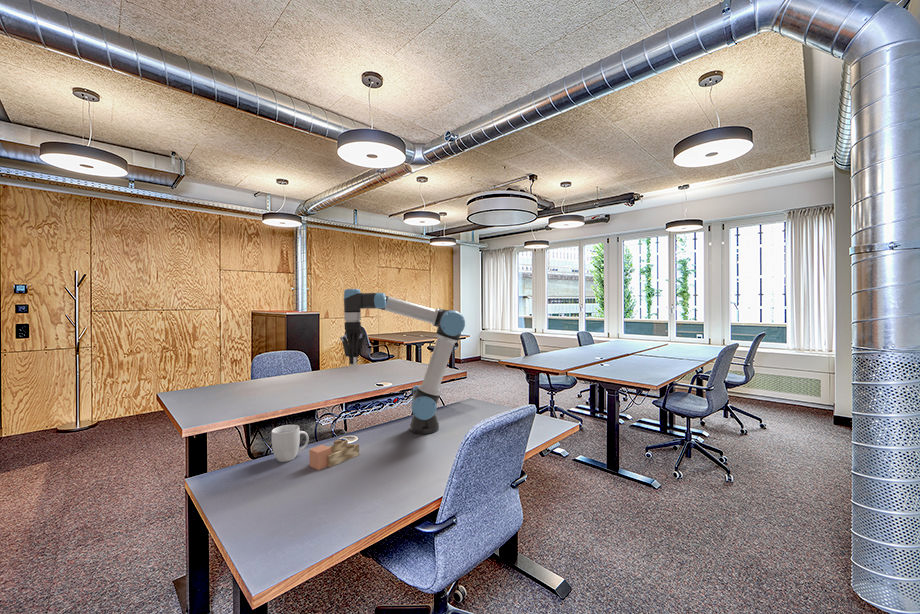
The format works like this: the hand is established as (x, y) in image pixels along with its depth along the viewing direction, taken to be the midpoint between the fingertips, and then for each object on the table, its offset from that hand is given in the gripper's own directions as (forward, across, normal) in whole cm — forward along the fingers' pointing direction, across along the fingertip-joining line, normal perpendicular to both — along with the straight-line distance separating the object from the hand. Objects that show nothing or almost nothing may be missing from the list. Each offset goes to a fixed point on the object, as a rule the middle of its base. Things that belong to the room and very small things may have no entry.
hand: (353, 370), depth 178 cm
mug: (+35, +28, -9) cm, 45 cm away
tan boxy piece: (+34, +16, +9) cm, 39 cm away
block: (+34, +25, +9) cm, 43 cm away
